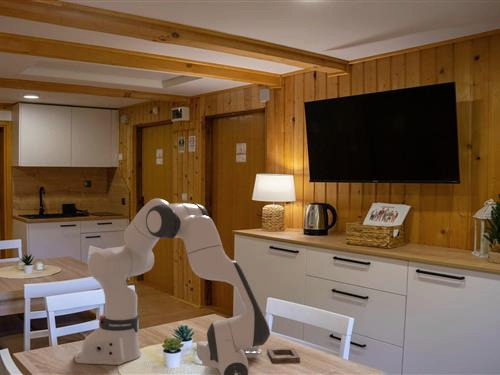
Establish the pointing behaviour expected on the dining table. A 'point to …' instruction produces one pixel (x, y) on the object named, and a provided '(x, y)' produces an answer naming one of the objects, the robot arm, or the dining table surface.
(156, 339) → the dining table surface
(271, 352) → the board
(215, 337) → the robot arm
